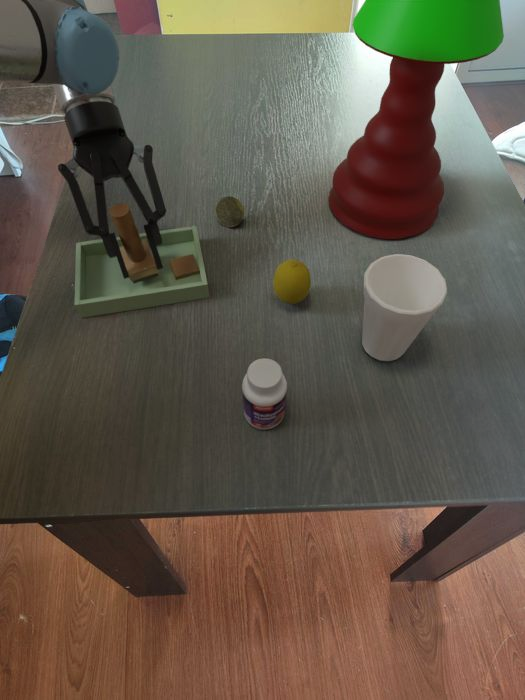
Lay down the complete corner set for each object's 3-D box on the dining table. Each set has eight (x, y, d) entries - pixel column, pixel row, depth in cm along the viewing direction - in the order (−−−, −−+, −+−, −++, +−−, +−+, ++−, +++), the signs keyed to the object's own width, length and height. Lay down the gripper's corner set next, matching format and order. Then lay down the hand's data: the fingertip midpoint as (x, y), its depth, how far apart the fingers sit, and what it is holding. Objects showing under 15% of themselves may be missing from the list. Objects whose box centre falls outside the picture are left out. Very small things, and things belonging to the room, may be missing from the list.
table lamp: (406, 164, 92) (501, -177, 55) (458, 228, 81) (619, -143, 44) (312, 182, 89) (346, -167, 52) (353, 251, 78) (433, -128, 41)
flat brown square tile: (175, 280, 74) (175, 276, 73) (169, 263, 76) (169, 259, 75) (200, 273, 74) (199, 270, 74) (193, 257, 77) (192, 253, 76)
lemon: (290, 281, 74) (293, 243, 68) (316, 301, 72) (321, 263, 65) (265, 299, 72) (265, 262, 65) (290, 320, 70) (293, 283, 63)
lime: (246, 229, 81) (245, 205, 77) (218, 232, 81) (216, 208, 77) (242, 212, 84) (241, 189, 80) (216, 215, 83) (213, 191, 79)
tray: (80, 318, 70) (74, 305, 68) (82, 256, 78) (76, 242, 75) (209, 297, 72) (207, 284, 70) (198, 239, 80) (196, 225, 77)
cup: (342, 319, 70) (356, 255, 59) (408, 315, 70) (434, 250, 59) (355, 376, 64) (373, 316, 53) (426, 371, 64) (459, 311, 54)
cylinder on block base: (132, 285, 72) (108, 229, 62) (123, 257, 75) (99, 200, 66) (160, 276, 73) (140, 219, 63) (149, 249, 76) (129, 191, 66)
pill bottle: (253, 437, 59) (251, 399, 51) (237, 402, 62) (233, 362, 54) (292, 421, 60) (296, 382, 52) (274, 388, 63) (275, 346, 55)
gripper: (150, 107, 70) (196, 259, 75) (31, 131, 66) (87, 289, 71) (152, 87, 63) (202, 256, 68) (18, 112, 59) (81, 289, 64)
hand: (143, 272), depth 69 cm, fingers closed on cylinder on block base, 4 cm apart
